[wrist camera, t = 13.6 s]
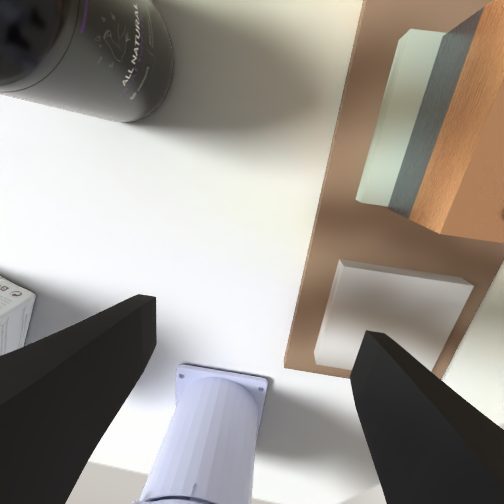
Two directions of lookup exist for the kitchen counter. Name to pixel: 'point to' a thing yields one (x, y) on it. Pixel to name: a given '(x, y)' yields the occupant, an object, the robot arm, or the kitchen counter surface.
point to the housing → (460, 136)
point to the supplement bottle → (86, 56)
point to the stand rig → (385, 211)
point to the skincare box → (14, 315)
